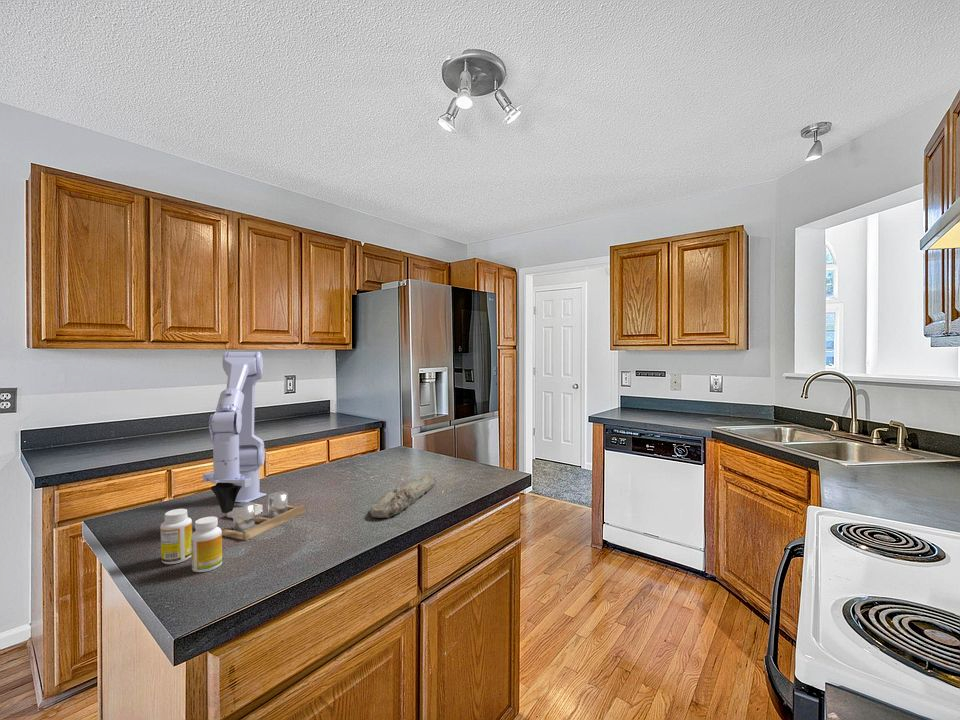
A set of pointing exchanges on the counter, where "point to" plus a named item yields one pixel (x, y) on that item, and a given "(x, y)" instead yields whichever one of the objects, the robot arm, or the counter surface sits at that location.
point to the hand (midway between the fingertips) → (227, 511)
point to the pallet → (265, 523)
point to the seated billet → (277, 503)
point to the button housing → (257, 510)
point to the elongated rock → (402, 497)
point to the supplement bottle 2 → (206, 545)
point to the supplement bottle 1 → (176, 537)
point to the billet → (243, 516)
